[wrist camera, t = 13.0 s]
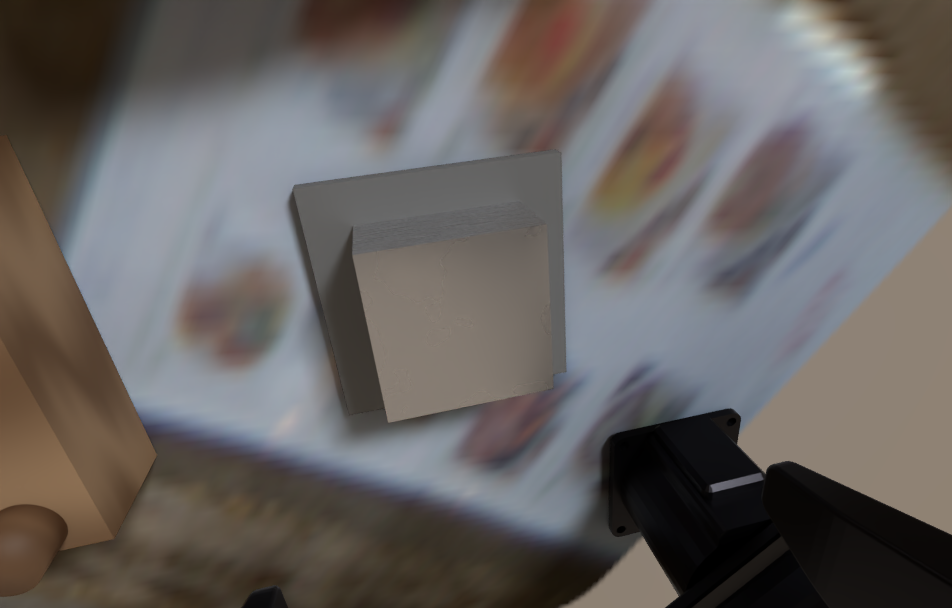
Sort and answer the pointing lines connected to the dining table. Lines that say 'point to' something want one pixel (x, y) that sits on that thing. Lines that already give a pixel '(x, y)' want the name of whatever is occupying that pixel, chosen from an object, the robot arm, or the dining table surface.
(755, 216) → the dining table surface
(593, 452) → the dining table surface
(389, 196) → the mat
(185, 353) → the dining table surface
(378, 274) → the square block
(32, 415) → the plane body
